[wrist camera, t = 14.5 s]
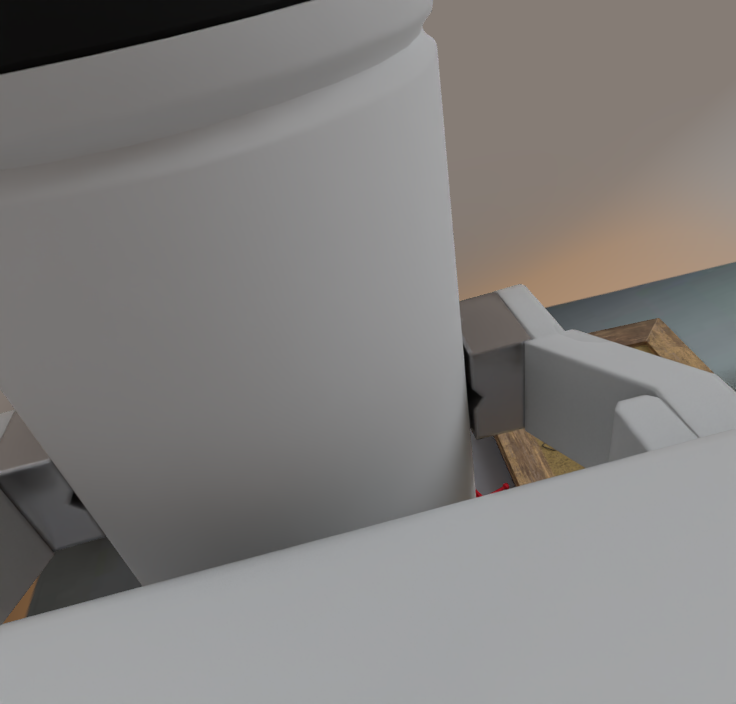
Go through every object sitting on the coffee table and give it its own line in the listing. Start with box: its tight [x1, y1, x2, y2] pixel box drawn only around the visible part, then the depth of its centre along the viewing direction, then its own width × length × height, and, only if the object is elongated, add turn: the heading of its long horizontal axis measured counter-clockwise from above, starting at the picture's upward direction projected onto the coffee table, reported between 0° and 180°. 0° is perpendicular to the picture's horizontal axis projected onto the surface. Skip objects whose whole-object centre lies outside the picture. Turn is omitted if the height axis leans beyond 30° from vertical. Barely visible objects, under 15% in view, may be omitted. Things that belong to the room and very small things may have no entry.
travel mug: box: [0, 0, 476, 586], centre depth 10 cm, size 6×7×20 cm
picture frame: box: [494, 318, 714, 487], centre depth 45 cm, size 19×2×24 cm
